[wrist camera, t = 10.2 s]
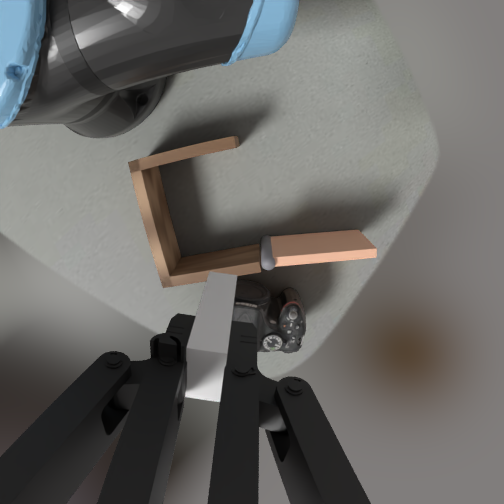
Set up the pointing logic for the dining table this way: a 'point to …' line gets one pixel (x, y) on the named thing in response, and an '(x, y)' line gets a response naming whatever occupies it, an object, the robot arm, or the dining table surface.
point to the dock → (161, 228)
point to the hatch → (315, 248)
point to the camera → (271, 316)
